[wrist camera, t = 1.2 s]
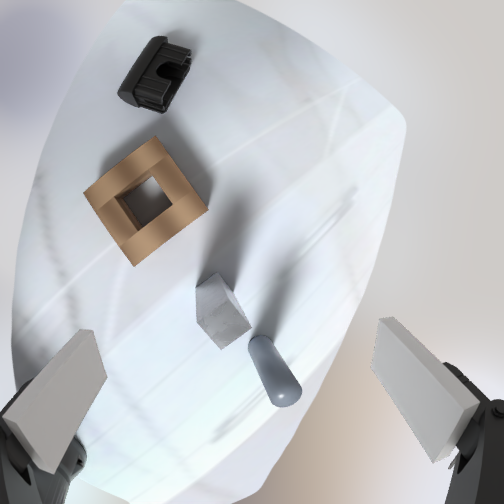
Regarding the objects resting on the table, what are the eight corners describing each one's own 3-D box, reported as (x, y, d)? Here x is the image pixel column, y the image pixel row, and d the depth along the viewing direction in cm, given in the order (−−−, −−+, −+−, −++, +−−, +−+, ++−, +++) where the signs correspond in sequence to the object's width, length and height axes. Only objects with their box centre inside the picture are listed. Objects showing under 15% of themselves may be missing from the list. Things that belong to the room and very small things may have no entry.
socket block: (140, 260, 39) (133, 267, 35) (95, 195, 37) (83, 192, 32) (206, 210, 40) (208, 209, 36) (159, 144, 38) (155, 135, 33)
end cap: (153, 54, 35) (148, 31, 29) (192, 65, 37) (193, 43, 30) (122, 104, 36) (111, 87, 29) (163, 117, 37) (158, 101, 31)
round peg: (257, 361, 45) (281, 412, 31) (243, 345, 44) (263, 394, 30) (276, 347, 45) (307, 393, 32) (263, 330, 44) (291, 375, 31)
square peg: (212, 308, 42) (221, 349, 29) (195, 288, 41) (196, 322, 28) (233, 292, 43) (251, 327, 29) (217, 271, 42) (228, 298, 28)
